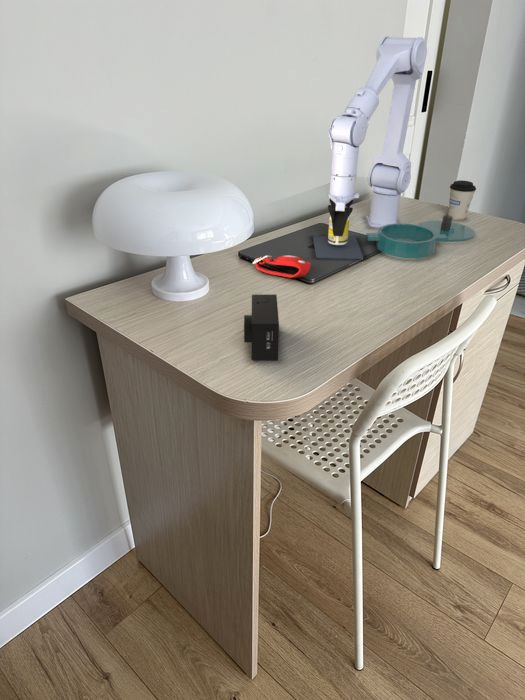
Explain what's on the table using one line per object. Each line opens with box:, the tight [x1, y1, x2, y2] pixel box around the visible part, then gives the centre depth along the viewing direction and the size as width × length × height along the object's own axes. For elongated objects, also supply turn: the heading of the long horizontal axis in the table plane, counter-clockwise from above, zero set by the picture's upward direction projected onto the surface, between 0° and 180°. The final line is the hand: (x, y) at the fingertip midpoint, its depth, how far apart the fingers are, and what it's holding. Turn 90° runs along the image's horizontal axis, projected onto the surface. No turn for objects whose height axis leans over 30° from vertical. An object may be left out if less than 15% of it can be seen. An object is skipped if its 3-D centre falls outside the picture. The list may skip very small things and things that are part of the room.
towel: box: [312, 235, 364, 260], centre depth 125 cm, size 14×11×1 cm
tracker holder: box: [252, 254, 312, 279], centre depth 111 cm, size 12×4×10 cm
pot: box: [365, 222, 448, 259], centre depth 123 cm, size 14×19×4 cm
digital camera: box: [243, 293, 280, 362], centre depth 85 cm, size 10×5×7 cm, turn 1°
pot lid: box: [417, 214, 475, 242], centre depth 133 cm, size 15×15×5 cm
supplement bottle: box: [327, 206, 350, 245], centre depth 122 cm, size 5×5×8 cm
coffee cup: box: [447, 179, 477, 220], centre depth 142 cm, size 7×7×10 cm
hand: (338, 231), depth 123 cm, fingers closed on supplement bottle, 5 cm apart
